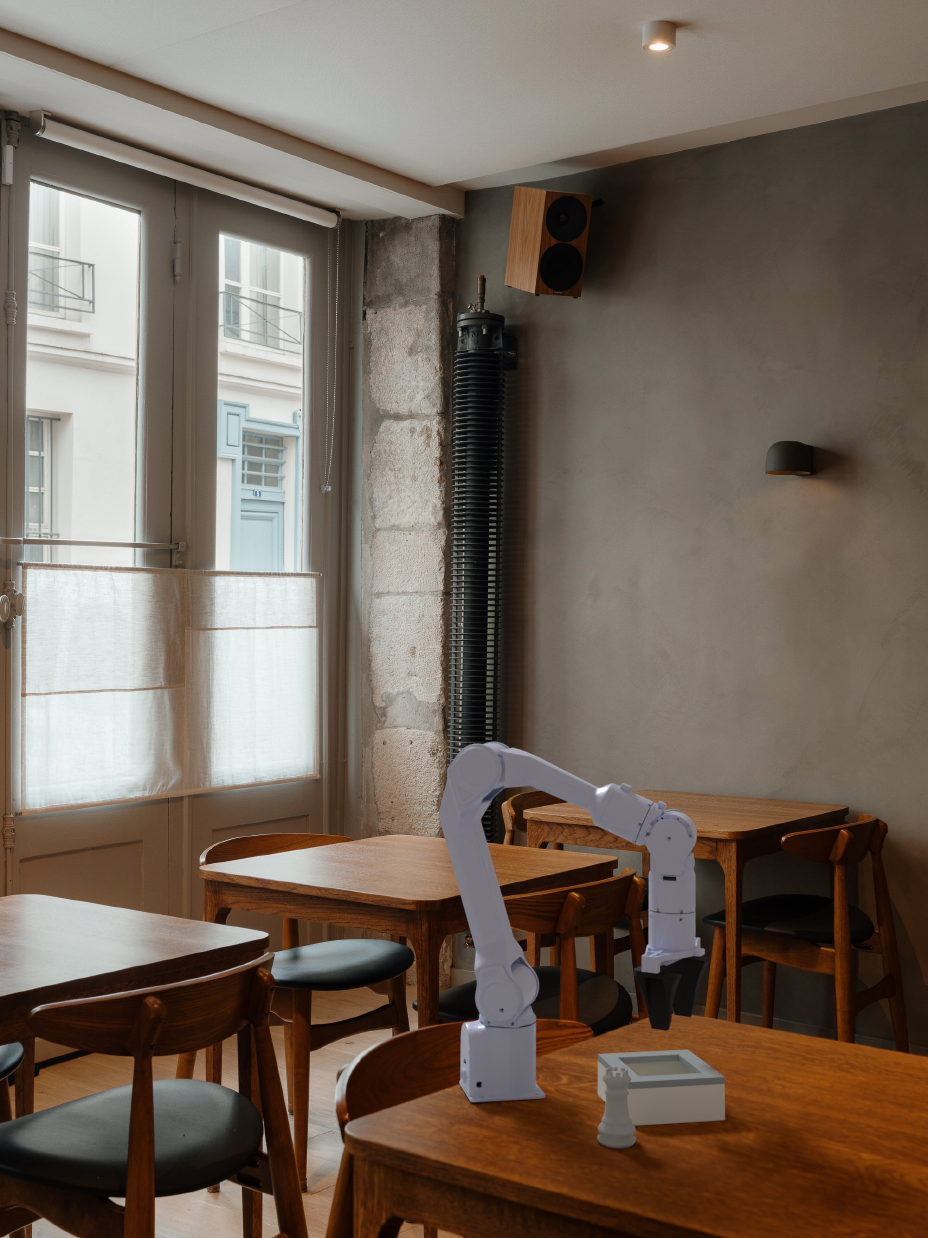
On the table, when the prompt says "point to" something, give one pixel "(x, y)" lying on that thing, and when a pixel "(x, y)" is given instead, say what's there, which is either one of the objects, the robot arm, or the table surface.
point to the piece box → (667, 1086)
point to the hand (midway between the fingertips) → (672, 1022)
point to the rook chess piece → (616, 1111)
